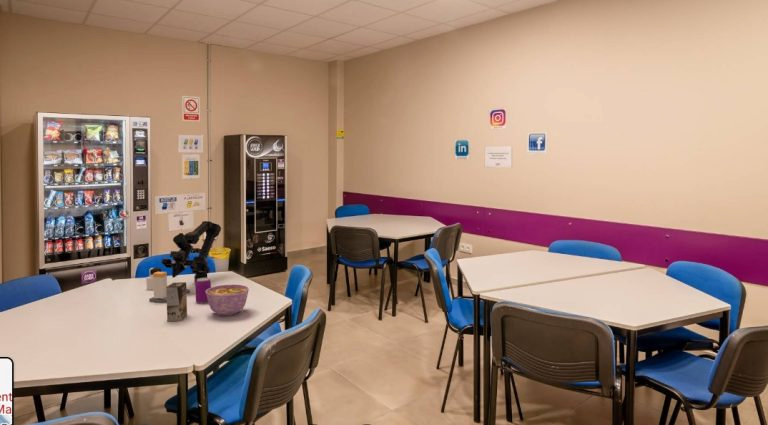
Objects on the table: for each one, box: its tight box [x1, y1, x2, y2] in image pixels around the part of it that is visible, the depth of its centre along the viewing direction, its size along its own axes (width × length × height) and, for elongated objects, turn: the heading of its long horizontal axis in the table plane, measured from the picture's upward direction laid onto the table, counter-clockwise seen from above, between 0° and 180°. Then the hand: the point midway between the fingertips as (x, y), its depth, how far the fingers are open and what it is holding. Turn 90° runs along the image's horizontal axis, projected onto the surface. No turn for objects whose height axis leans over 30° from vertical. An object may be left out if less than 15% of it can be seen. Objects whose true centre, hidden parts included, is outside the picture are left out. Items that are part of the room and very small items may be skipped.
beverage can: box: [194, 277, 212, 304], centre depth 253 cm, size 8×8×12 cm
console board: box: [148, 288, 191, 304], centre depth 261 cm, size 21×10×2 cm, turn 170°
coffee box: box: [166, 281, 188, 322], centre depth 226 cm, size 9×6×16 cm
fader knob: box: [153, 271, 168, 299], centre depth 252 cm, size 4×5×13 cm
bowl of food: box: [205, 284, 250, 317], centre depth 235 cm, size 20×20×12 cm
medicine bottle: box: [145, 266, 162, 291], centre depth 276 cm, size 7×7×12 cm
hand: (173, 277), depth 263 cm, fingers closed
